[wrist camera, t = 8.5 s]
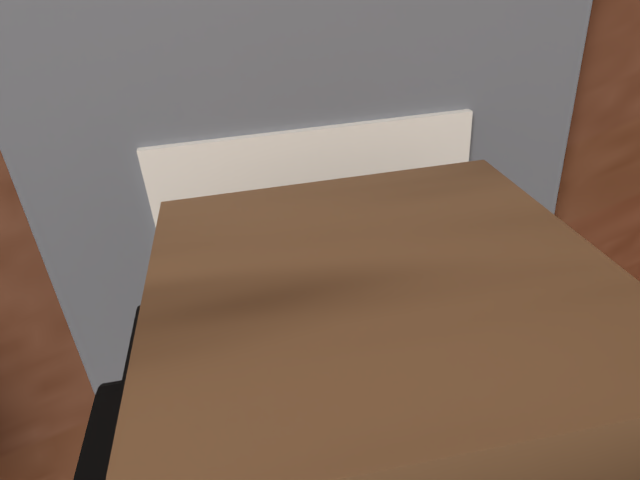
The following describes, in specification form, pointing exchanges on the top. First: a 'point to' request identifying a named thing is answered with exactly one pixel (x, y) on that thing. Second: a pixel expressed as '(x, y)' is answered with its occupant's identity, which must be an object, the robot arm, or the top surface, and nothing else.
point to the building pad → (257, 115)
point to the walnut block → (380, 338)
